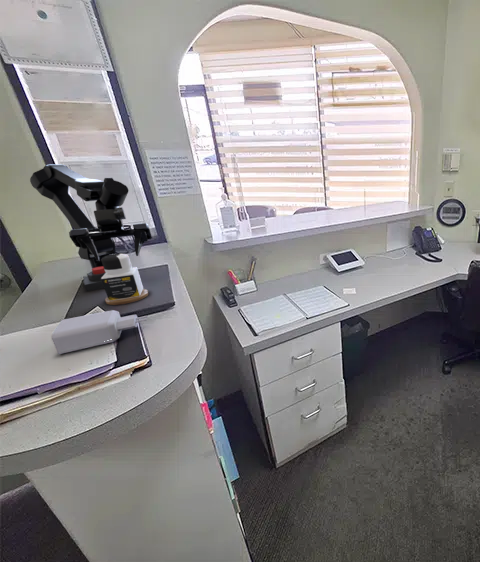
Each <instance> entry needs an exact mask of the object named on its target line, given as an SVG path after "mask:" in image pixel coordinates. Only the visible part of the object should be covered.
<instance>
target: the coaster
mask: <svg viewBox="0 0 480 562" xmlns="http://www.w3.org/2000/svg"><path fill="white" fill-rule="evenodd" d="M149 293H150V292H149V290H148V289H145V288H143V290H142V293H141V295H140V296H139V297H134V298H128V299H122V300H116V301H109V300H108V297H107V296H106V297H105V299H104V301H105V304H107V305H109V306H110V305H111V306H120V305H126V304H132V303H134V302H135V303H136V302H138V301H141V300H143V299H145V298H147V297H148V296H149Z"/></svg>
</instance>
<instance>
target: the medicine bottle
mask: <svg viewBox="0 0 480 562" xmlns="http://www.w3.org/2000/svg"><path fill="white" fill-rule="evenodd" d="M101 261H102V264H103V267H104V270H105V272H106V273H105V274H104V275H103V277H102V278H101V280H102V282H103V285H104V288H103V289H104V291H105V293H106V298H107V297H108V300H109V301H116V300H122V299H128V298H134V297H139V296H140V295H141V293H142V290H143V289H144V286H143V285H144V284H143V283H142V279H141V276H140V272H139V269H138V267H137V266H132V262H131V259H130V256H129V255H128V254H126V253H116V254H111V255H108V256H105V257H103V258H102V259H101Z"/></svg>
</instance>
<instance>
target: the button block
mask: <svg viewBox="0 0 480 562" xmlns="http://www.w3.org/2000/svg"><path fill="white" fill-rule="evenodd" d="M105 273H106V272H105ZM105 273H101V274H93V272H92V271H90V272H88V273H86V275H85V276H83V277H82V278H83V284H84V287H85V290H86V292H91V291H96V290H101V289H105V288H104V285H103V282H102V280H101V278H102V277H103V275H104V274H105Z"/></svg>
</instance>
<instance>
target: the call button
mask: <svg viewBox="0 0 480 562" xmlns="http://www.w3.org/2000/svg"><path fill="white" fill-rule="evenodd" d="M91 272H93V274H101V273H105V270H104V267H103V266H101V267H96V268H93V269H92V268H91Z"/></svg>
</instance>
